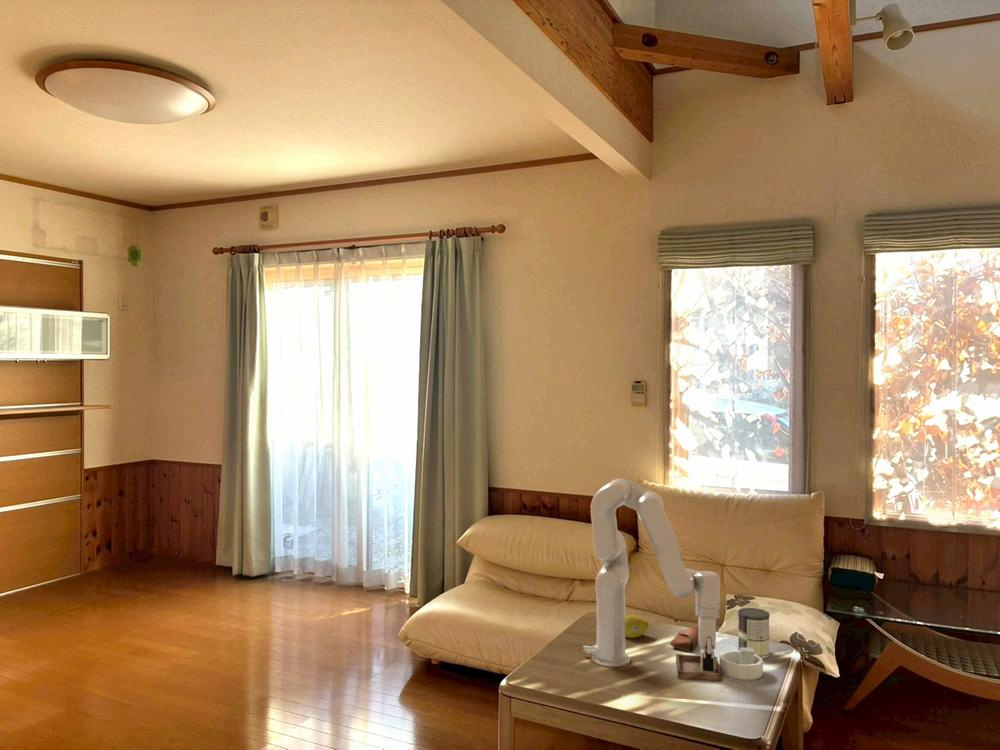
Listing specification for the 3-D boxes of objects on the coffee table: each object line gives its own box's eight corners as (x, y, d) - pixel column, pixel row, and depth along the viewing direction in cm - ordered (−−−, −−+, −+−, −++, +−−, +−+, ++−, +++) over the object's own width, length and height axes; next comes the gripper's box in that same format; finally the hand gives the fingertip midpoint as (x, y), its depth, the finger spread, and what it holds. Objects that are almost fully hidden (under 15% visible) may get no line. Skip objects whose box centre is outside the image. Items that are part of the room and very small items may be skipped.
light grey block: (741, 669, 242) (741, 650, 242) (739, 665, 246) (739, 647, 246) (754, 670, 241) (754, 651, 242) (752, 666, 245) (752, 648, 245)
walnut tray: (678, 678, 237) (678, 671, 237) (675, 660, 252) (675, 653, 252) (721, 681, 234) (721, 674, 234) (716, 663, 250) (716, 656, 250)
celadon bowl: (722, 678, 237) (722, 663, 237) (718, 663, 250) (718, 649, 250) (765, 681, 235) (765, 666, 235) (759, 666, 247) (759, 652, 248)
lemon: (617, 640, 272) (617, 618, 272) (618, 633, 280) (618, 611, 280) (648, 642, 270) (648, 620, 270) (648, 635, 278) (648, 613, 278)
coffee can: (732, 653, 259) (732, 612, 259) (746, 646, 267) (746, 606, 267) (761, 661, 252) (761, 618, 252) (774, 653, 259) (774, 612, 259)
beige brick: (701, 671, 241) (701, 652, 241) (700, 667, 245) (700, 649, 245) (714, 672, 241) (714, 653, 241) (713, 668, 244) (713, 649, 244)
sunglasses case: (678, 629, 279) (689, 617, 277) (693, 643, 277) (705, 631, 275) (668, 644, 262) (680, 631, 261) (684, 659, 260) (696, 646, 259)
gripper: (693, 602, 252) (693, 658, 252) (697, 618, 236) (697, 677, 235) (717, 604, 250) (717, 659, 250) (722, 619, 234) (722, 678, 234)
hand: (707, 667), depth 243 cm, fingers closed on beige brick, 3 cm apart
